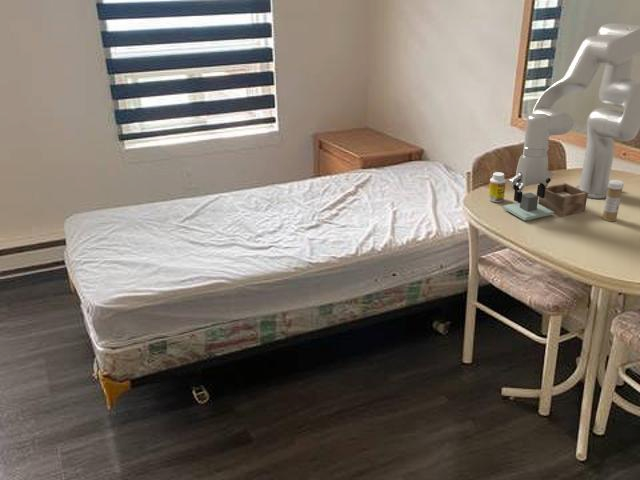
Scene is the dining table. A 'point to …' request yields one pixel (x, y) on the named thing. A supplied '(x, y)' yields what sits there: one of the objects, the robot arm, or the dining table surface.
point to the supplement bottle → (497, 187)
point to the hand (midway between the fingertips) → (528, 199)
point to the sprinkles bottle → (612, 200)
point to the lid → (528, 208)
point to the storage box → (564, 199)
